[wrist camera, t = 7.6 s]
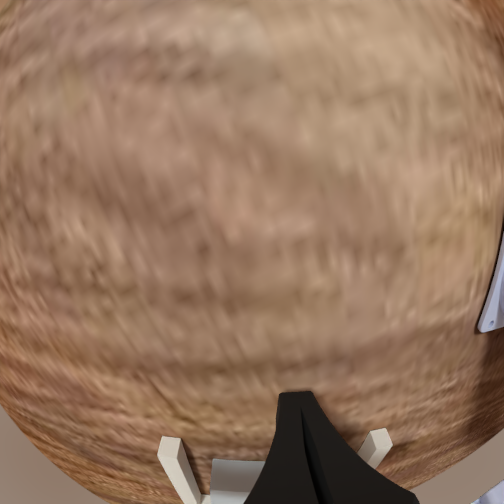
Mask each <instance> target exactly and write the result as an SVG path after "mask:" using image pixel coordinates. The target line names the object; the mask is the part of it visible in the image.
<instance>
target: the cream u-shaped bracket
mask: <svg viewBox="0 0 504 504" xmlns="http://www.w3.org/2000/svg"><path fill="white" fill-rule="evenodd" d="M392 446H393V444H392V442H391V439H390V437H389V435H388V432H387V430H386V428H382V429H378V430H373V431H370V432H369V434H368V435H367V437H366V439H365V441H364V443H363V444H362V446H361V448H360V449H359V451H358V453H357V454H358V455H359V456H360V457H361V458H362V459H363V460H364V461H365V462H366V463H367V464H369V465H370V466H371V467H372V468H374V469H376V467H377V466H378V465H379V463H380V462H381V461H382V459H383V458H384V457H385V455H386V454H387V453H388V451H389V450H390V448H391V447H392ZM157 456H158V458H159V460H160V462H161V464H162V466H163V468H164V469H165V471H166V473H167V475H168V477H169V479H170V480H171V482H172V484H173V486H174V487H175V489H176V491H177V492H178V494H179V496H180V497H181V499H182V501H183V502H184V504H211V498H210V495H203V494H201V493H200V491H199V488H198V486H197V483H196V480H195V478H194V475H193V473H192V470H191V467H190V464H189V462H188V459H187V456H186V453H185V450H184V447H183V444H182V441H181V438H173V437H166V436H162V439H161V442H160V446H159V450H158V454H157Z"/></svg>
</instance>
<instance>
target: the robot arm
mask: <svg viewBox="0 0 504 504" xmlns="http://www.w3.org/2000/svg"><path fill="white" fill-rule="evenodd" d="M502 327H504V233H503V239H502V244H501V248H500V253H499V257H498V262H497V266H496V270H495V274H494V277H493V281H492V284H491V288H490V291H489V294H488V297H487V300H486V303H485V306H484V309H483V312H482V315H481V318H480V320H479V323H478V330H479V331H480V332H481V333H484V332H487V331H491V330H495V329H498V328H502ZM243 504H420V503H419V501H418V499H417V497H416V496H415V494H414V493H412V492H410V491H408V490H406V489H404V488H402V487H400V486H399V485H397V484H395V483H394V482H392V481H390V480H389V479H387V478H386V477H384V476H383V475H382V474H380V473H379V472H378V471H376V470H375V469H374V468H372V467H371V466H370V465H369V464H367V463H366V462H365V461H364V460H363V459H362V458H361V457H360V456H359V455H358V454H357V453H356V452H355V451H354V450H353V449H352V448H351V447H350V446H349V445H348V444H347V443H346V442H345V440H344V439H343V438H342V437H341V436H340V434H339V433H338V432H337V431H336V429H335V428H334V427H333V425H332V424H331V422H330V421H329V420H328V418H327V417H326V415H325V414H324V412H323V411H322V409H321V407H320V406H319V404H318V402H317V401H316V399H315V397H314V395H313V393H312V392H311V391H305V392H284V393H280V394H279V398H278V406H277V414H276V432H275V436H274V439H273V442H272V445H271V448H270V451H269V454H268V457H267V459H266V462H265V464H264V466H263V469H262V471H261V473H260V475H259V477H258V479H257V481H256V483H255V485H254V487H253V488H252V490H251V492H250V493H249V495H248V497H247V498H246V500H245V502H244V503H243ZM470 504H504V480H502V481H501V482H499V483H498V484H497V485H495V486H494V487H492V488H491V489H490V490H488V491H487V492H486V493H484V494H483V495H482V496H480V498H478V499H477V500H475V501H474V502H472V503H470Z"/></svg>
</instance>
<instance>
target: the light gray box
mask: <svg viewBox="0 0 504 504" xmlns="http://www.w3.org/2000/svg"><path fill="white" fill-rule="evenodd" d="M265 462H266V461H237V460H222V459H213V462H212V472H211V482H210V498H211V504H243V503H244V502H245V500H246V498H247V497H248V495H249V493H250V492H251V490H252V488H253V487H254V485H255V483H256V481H257V479H258V477H259V475H260V473H261V471H262V469H263V466H264V464H265Z"/></svg>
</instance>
